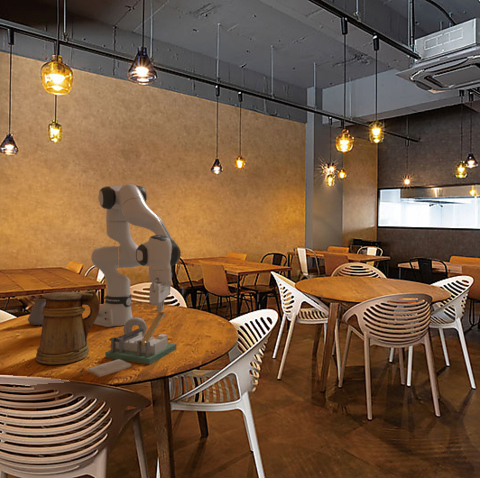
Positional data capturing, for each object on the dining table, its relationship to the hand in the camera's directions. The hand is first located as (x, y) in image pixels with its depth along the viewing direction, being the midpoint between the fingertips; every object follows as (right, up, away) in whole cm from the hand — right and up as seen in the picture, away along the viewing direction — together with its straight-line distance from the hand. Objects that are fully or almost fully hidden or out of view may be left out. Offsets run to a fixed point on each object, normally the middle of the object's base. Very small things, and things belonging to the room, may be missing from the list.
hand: (160, 311), depth 163 cm
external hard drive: (-15, -18, -17) cm, 29 cm away
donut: (-14, -16, +17) cm, 27 cm away
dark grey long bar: (-13, -11, +1) cm, 17 cm away
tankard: (-34, -17, -4) cm, 39 cm away
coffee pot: (-64, -14, +45) cm, 80 cm away
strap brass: (-2, -7, -4) cm, 8 cm away
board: (-7, -17, -1) cm, 18 cm away
